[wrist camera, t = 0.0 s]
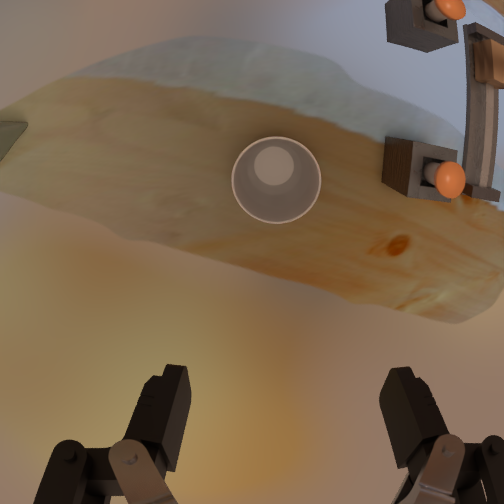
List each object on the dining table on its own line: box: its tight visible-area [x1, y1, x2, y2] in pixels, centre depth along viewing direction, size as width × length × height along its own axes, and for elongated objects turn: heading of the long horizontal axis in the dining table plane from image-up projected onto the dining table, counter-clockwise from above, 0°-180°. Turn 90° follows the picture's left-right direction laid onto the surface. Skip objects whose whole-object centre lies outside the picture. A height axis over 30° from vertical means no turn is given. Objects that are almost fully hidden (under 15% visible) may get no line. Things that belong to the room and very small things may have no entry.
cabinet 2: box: [382, 137, 457, 203], centre depth 31 cm, size 6×6×8 cm
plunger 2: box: [423, 161, 466, 198], centre depth 26 cm, size 4×4×4 cm
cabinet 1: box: [385, 0, 458, 53], centre depth 23 cm, size 6×6×8 cm
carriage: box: [473, 39, 504, 89], centre depth 24 cm, size 6×4×4 cm
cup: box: [232, 137, 321, 224], centre depth 31 cm, size 8×8×10 cm
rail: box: [461, 22, 504, 202], centre depth 29 cm, size 26×6×3 cm, turn 179°
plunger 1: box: [424, 0, 466, 22], centre depth 18 cm, size 4×4×4 cm
